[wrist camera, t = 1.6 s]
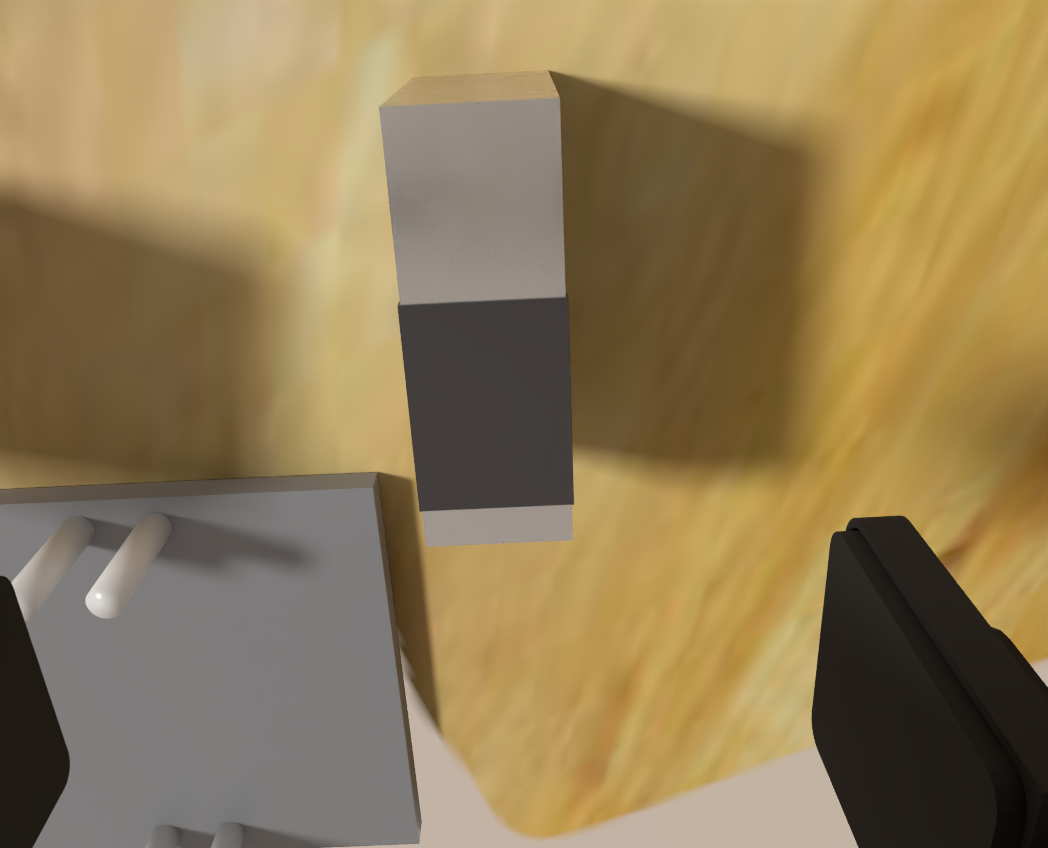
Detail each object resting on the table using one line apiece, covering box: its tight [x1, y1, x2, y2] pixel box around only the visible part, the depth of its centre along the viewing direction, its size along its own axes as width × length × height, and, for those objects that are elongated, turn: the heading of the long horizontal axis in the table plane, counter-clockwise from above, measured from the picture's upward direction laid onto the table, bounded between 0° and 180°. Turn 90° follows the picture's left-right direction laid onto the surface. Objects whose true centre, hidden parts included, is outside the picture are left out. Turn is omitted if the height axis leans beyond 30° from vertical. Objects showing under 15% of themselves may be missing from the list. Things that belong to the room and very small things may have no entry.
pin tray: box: [0, 472, 421, 848], centre depth 30 cm, size 16×15×5 cm
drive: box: [379, 70, 574, 547], centre depth 23 cm, size 4×10×7 cm, turn 3°
